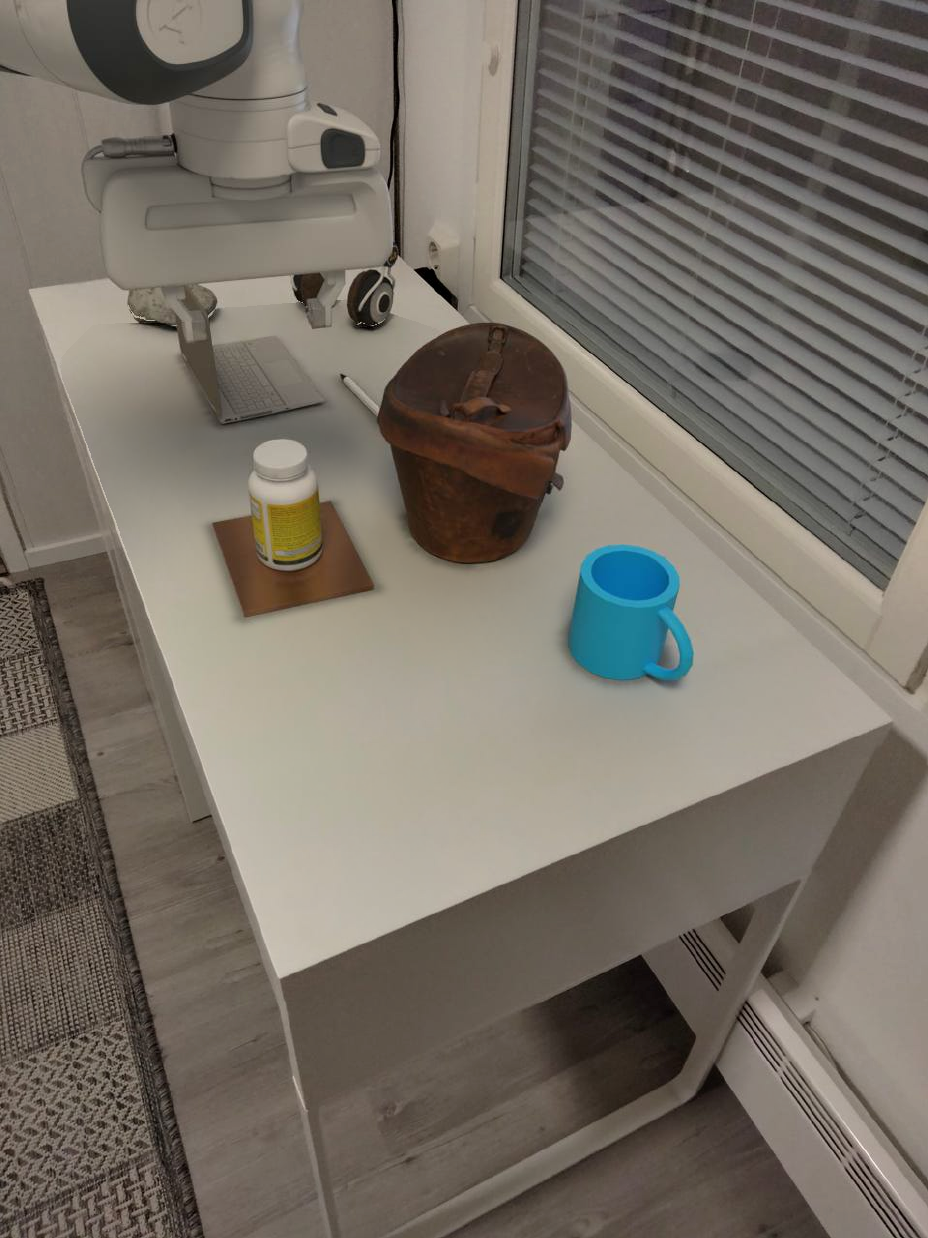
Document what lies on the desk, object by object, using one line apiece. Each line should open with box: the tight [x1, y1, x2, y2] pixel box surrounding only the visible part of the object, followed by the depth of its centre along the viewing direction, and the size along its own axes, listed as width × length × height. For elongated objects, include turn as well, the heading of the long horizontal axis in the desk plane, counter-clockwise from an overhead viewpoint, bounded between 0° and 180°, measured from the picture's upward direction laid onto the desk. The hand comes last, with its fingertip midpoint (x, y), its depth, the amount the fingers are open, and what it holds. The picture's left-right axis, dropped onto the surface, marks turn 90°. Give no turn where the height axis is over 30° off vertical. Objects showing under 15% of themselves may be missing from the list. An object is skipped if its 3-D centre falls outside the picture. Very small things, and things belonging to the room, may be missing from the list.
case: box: [376, 322, 573, 564], centre depth 89 cm, size 18×20×18 cm
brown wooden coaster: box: [211, 500, 375, 618], centre depth 90 cm, size 12×14×1 cm
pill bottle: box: [247, 438, 322, 571], centre depth 86 cm, size 6×6×11 cm
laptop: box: [174, 285, 325, 424], centre depth 110 cm, size 18×12×13 cm
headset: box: [289, 223, 399, 328], centre depth 123 cm, size 17×8×20 cm, turn 59°
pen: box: [339, 373, 380, 417], centre depth 110 cm, size 1×19×1 cm, turn 30°
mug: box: [567, 543, 695, 681], centre depth 79 cm, size 12×8×8 cm
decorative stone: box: [126, 284, 218, 328], centre depth 125 cm, size 12×11×5 cm
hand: (259, 331), depth 71 cm, fingers open, 8 cm apart
